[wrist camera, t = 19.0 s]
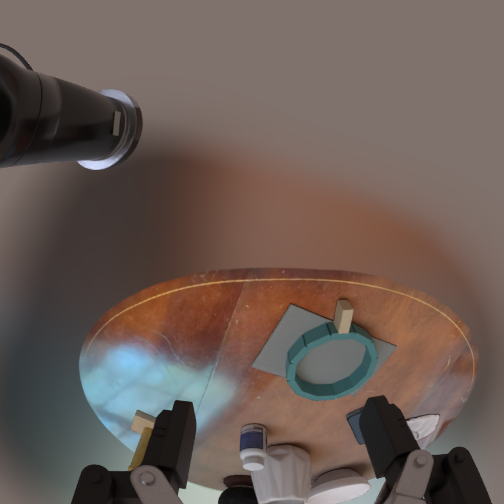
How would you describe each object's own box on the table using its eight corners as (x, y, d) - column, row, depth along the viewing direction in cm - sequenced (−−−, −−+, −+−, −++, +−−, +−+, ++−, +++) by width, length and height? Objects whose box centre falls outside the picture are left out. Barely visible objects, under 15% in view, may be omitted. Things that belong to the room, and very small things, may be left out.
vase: (247, 443, 49) (245, 498, 35) (310, 437, 48) (318, 492, 34) (254, 467, 53) (254, 513, 39) (308, 461, 53) (315, 508, 38)
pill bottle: (235, 428, 47) (232, 465, 38) (255, 420, 46) (255, 459, 37) (252, 438, 49) (251, 474, 39) (271, 430, 47) (273, 467, 38)
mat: (251, 365, 41) (251, 366, 41) (290, 303, 38) (291, 304, 37) (354, 394, 44) (354, 396, 44) (396, 345, 40) (397, 346, 40)
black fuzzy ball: (273, 482, 57) (275, 522, 43) (239, 490, 60) (237, 526, 46) (247, 470, 54) (245, 515, 40) (211, 478, 57) (206, 518, 43)
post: (132, 425, 49) (113, 472, 35) (137, 409, 47) (115, 462, 33) (163, 438, 50) (149, 487, 36) (171, 424, 48) (155, 478, 33)
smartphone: (379, 403, 44) (388, 433, 47) (377, 398, 45) (386, 429, 49) (345, 418, 45) (359, 446, 48) (344, 413, 46) (358, 441, 50)
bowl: (291, 485, 58) (292, 506, 51) (327, 460, 53) (332, 484, 45) (339, 486, 61) (343, 504, 53) (377, 461, 55) (384, 481, 47)
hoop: (359, 385, 43) (363, 396, 40) (282, 390, 43) (283, 402, 40) (386, 298, 37) (394, 307, 34) (293, 299, 37) (296, 310, 34)
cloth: (439, 426, 51) (442, 432, 49) (374, 461, 55) (376, 467, 52) (438, 396, 46) (442, 402, 44) (359, 438, 50) (362, 446, 47)
